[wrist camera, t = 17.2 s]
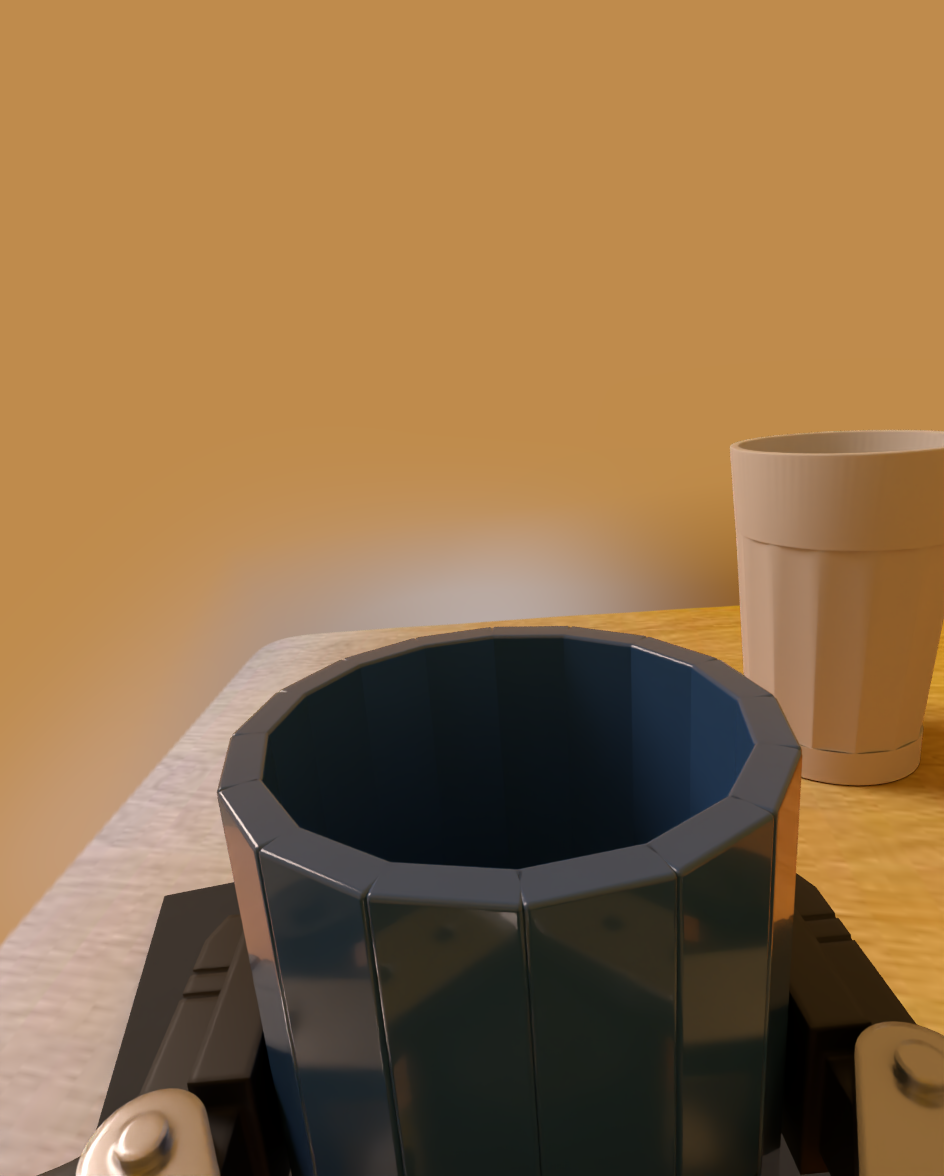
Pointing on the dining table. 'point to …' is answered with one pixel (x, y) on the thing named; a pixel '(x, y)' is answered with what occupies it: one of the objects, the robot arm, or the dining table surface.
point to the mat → (166, 978)
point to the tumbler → (520, 907)
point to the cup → (843, 590)
